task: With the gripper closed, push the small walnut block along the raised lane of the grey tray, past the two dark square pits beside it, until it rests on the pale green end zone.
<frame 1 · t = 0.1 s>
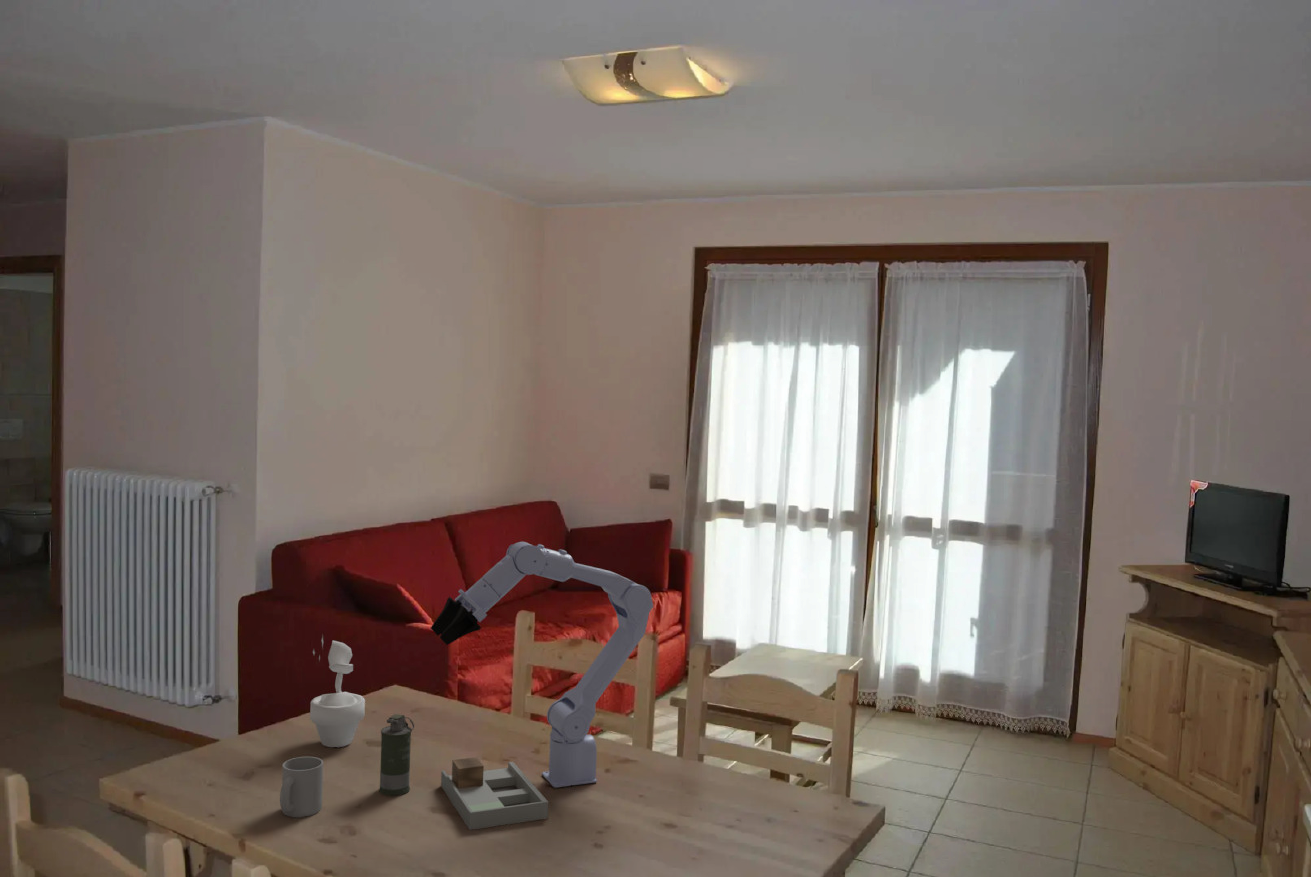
hand: (438, 636, 200), 32 cm above the table, tool tilted 50°, fingers open, 7 cm apart
tray: (492, 801, 200), on the table
potted plant: (336, 745, 228), on the table
block: (467, 782, 204), point 2 cm above the table, touching tray
grenade: (394, 790, 204), on the table
cup: (297, 814, 191), on the table
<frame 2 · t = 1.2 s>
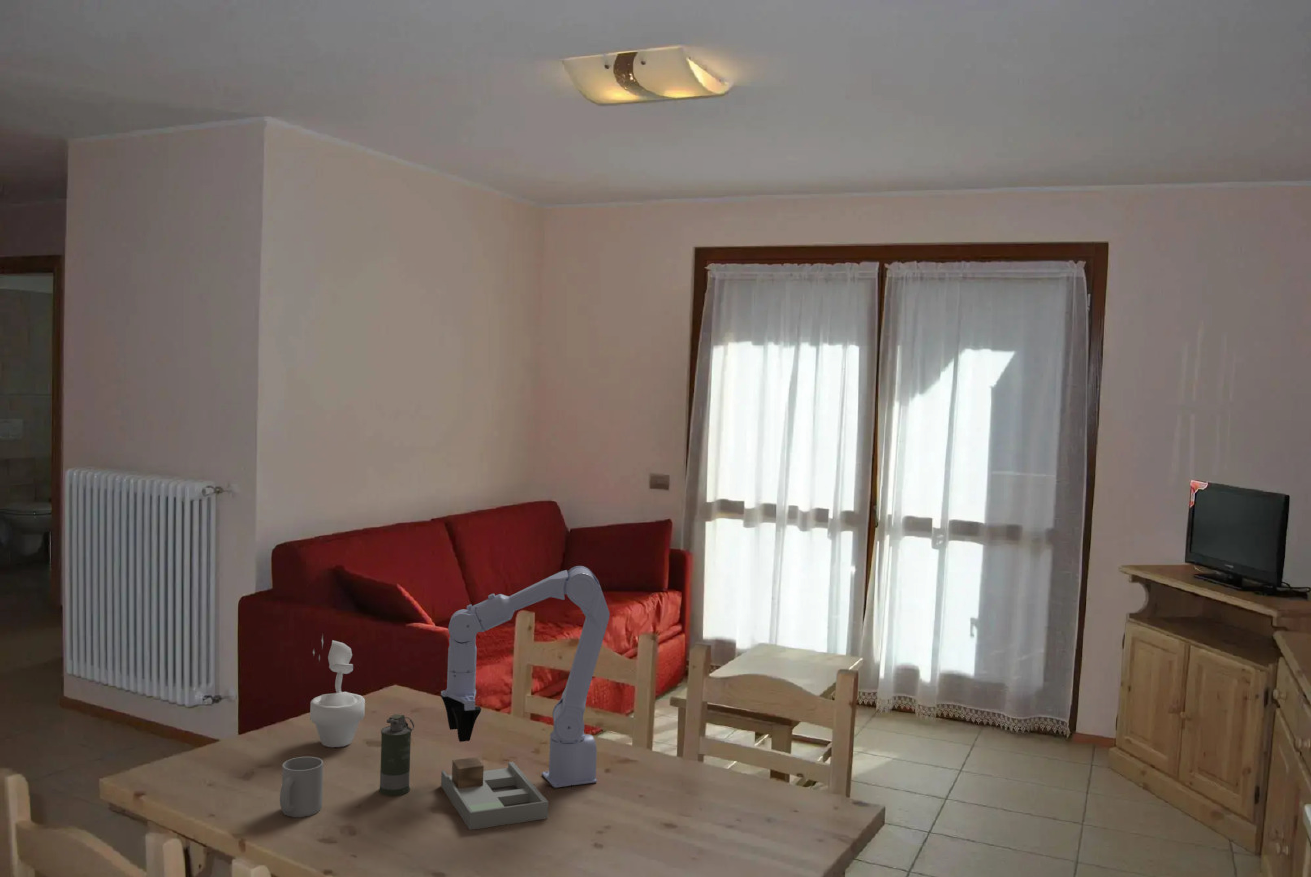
hand: (459, 734, 210), 9 cm above the table, tool pointing down, fingers open, 7 cm apart
nothing on the table moved.
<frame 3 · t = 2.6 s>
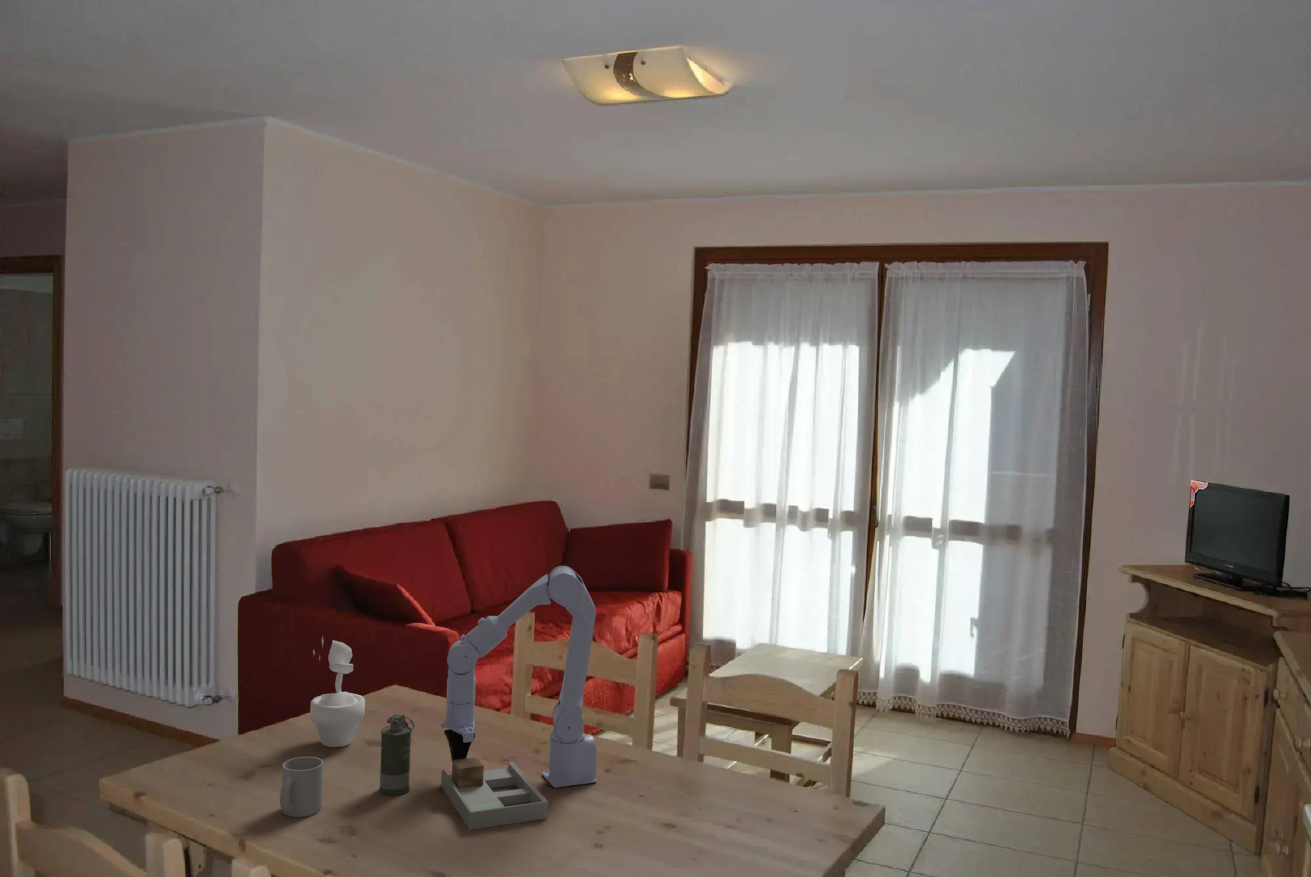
hand: (458, 765, 210), 3 cm above the table, tool pointing down, fingers closed
nothing on the table moved.
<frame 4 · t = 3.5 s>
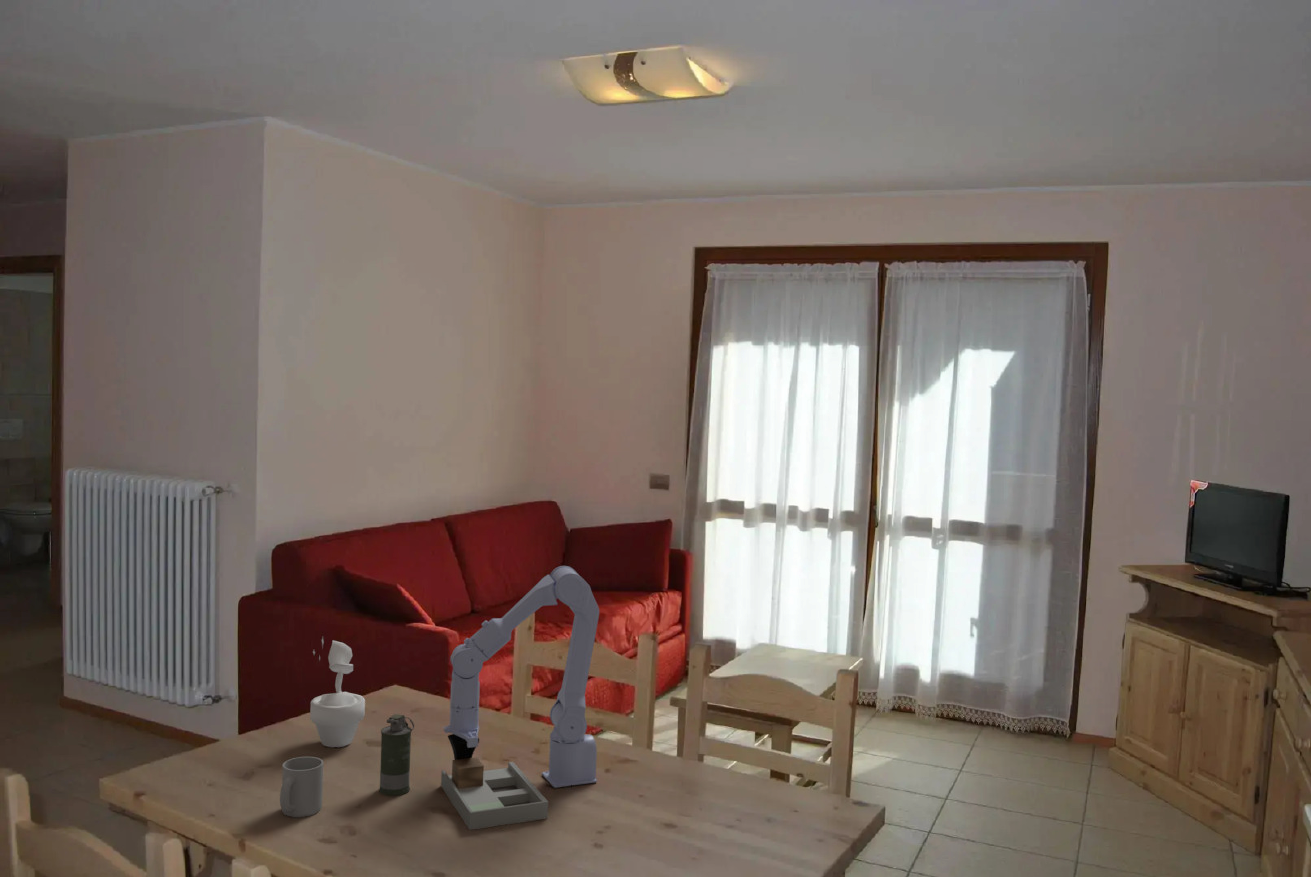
hand: (462, 770, 207), 3 cm above the table, tool pointing down, fingers closed
block: (467, 782, 204), point 2 cm above the table, touching gripper
everything else where it was.
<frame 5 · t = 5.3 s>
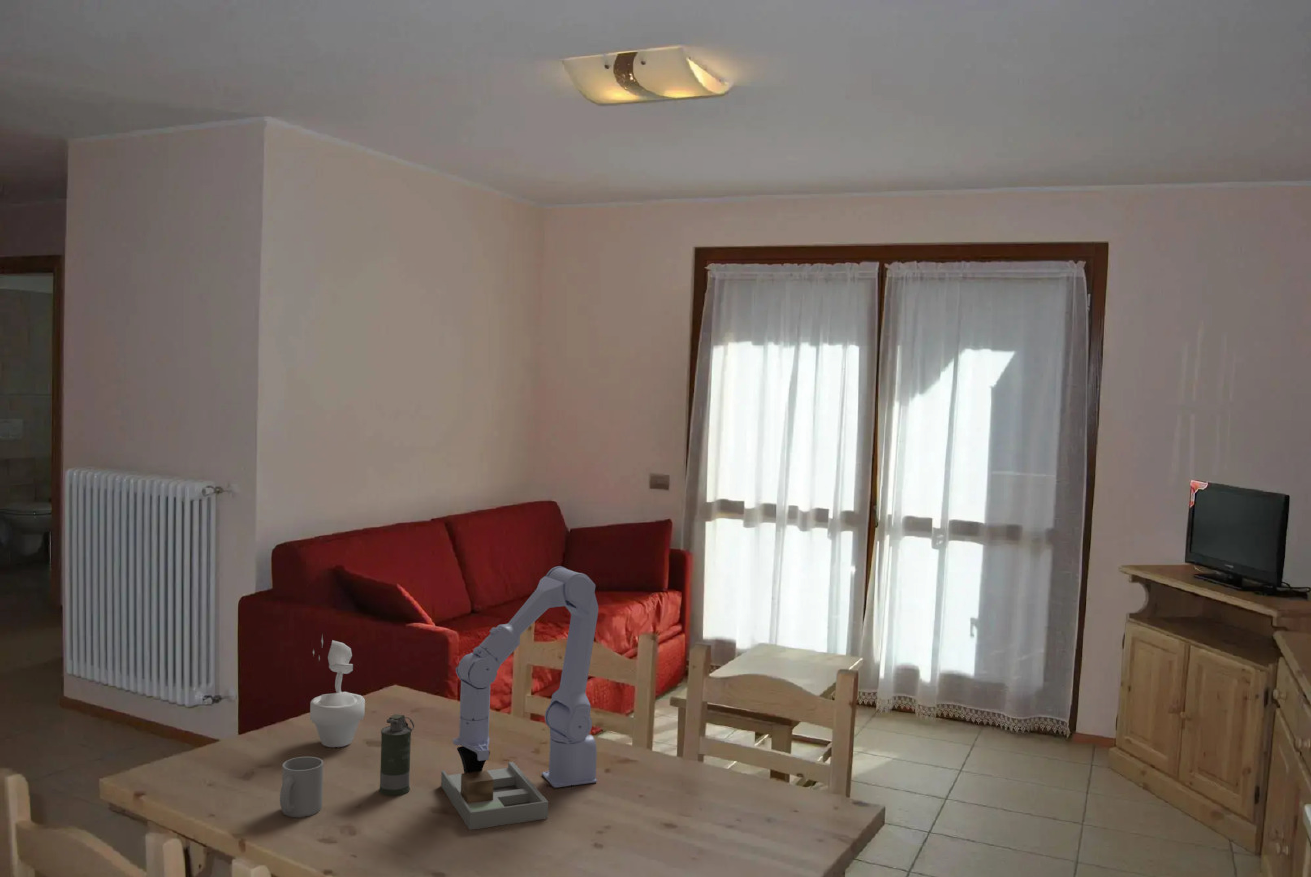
hand: (472, 784, 200), 3 cm above the table, tool pointing down, fingers closed
block: (476, 797, 197), point 2 cm above the table, touching gripper
everything else where it was.
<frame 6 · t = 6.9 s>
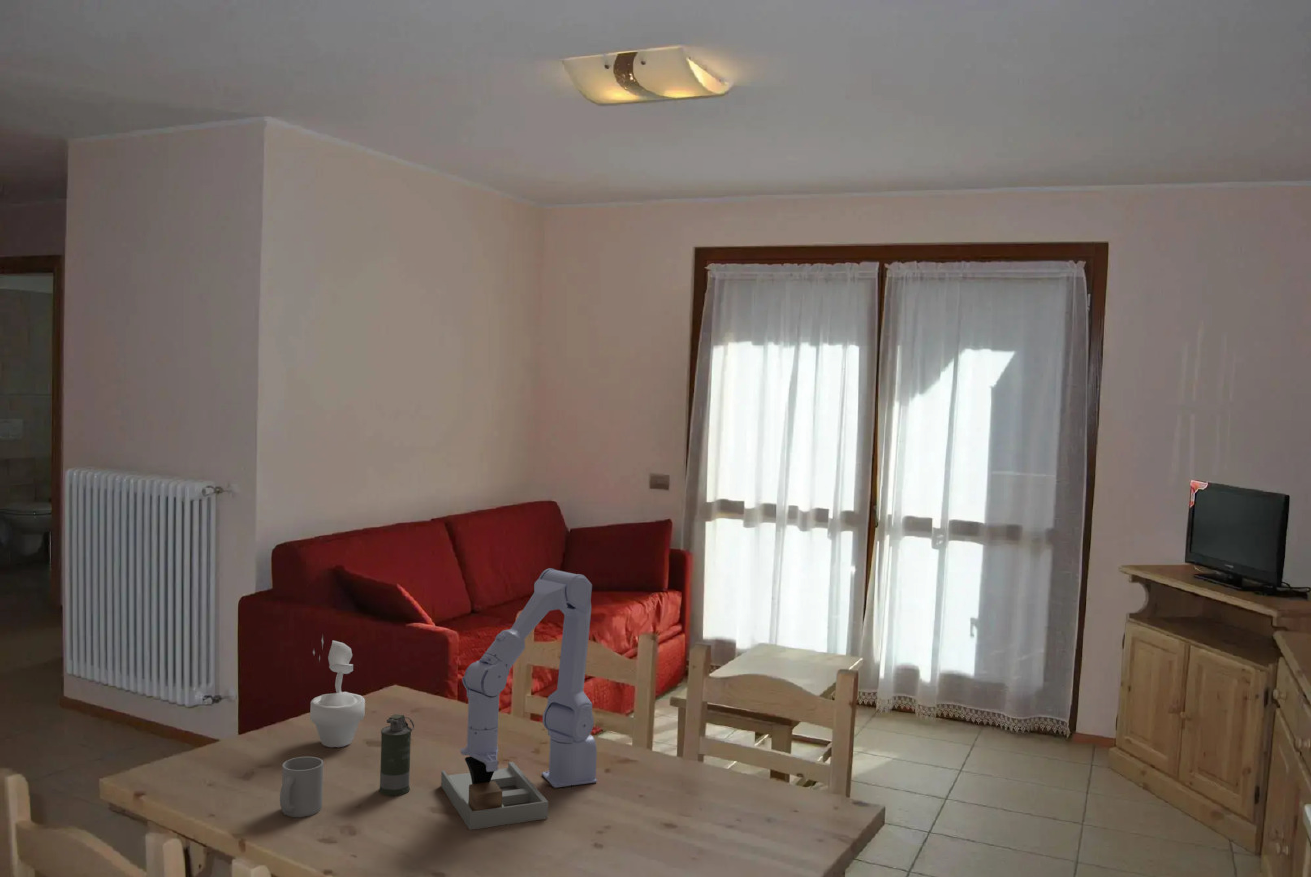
hand: (480, 795, 195), 3 cm above the table, tool pointing down, fingers closed
block: (484, 808, 192), point 2 cm above the table, touching gripper, tray
everything else where it was.
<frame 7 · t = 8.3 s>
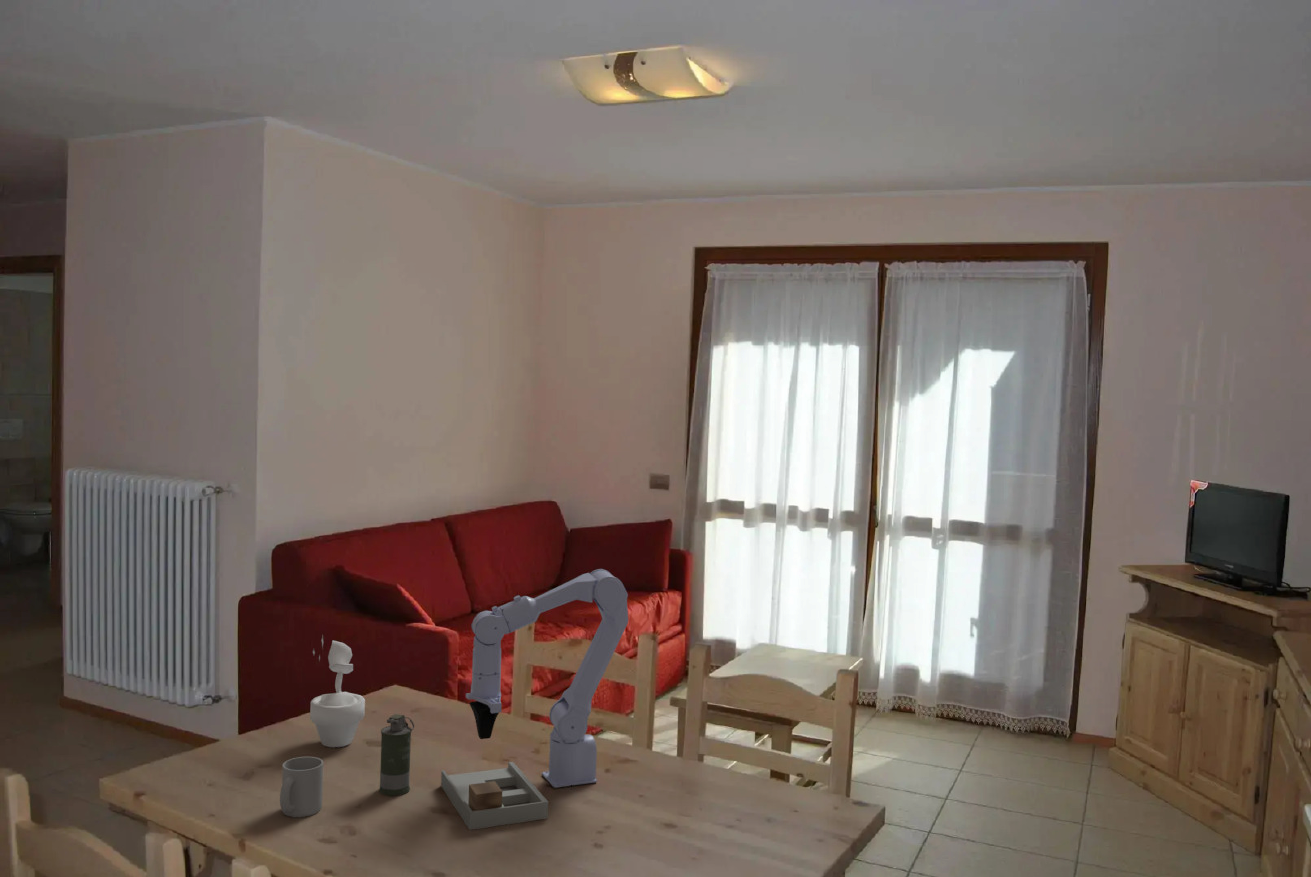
hand: (484, 737, 207), 10 cm above the table, tool pointing down, fingers closed
block: (484, 808, 192), point 2 cm above the table, touching tray
everything else where it was.
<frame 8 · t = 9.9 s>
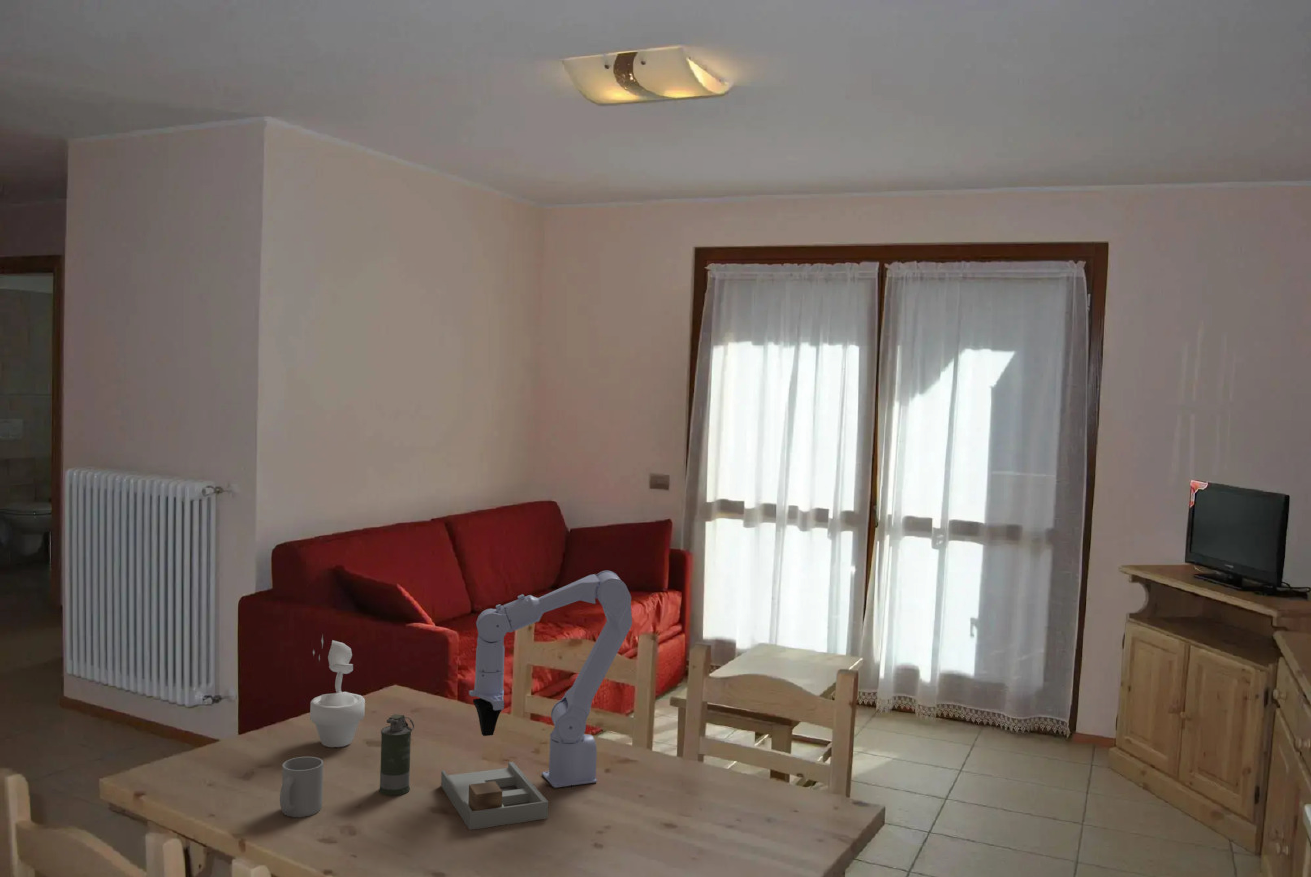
hand: (487, 734, 209), 10 cm above the table, tool pointing down, fingers closed
nothing on the table moved.
at the end: block inside the target area (0.1 cm from its centre), point 2.0 cm above the table; block tilted 0° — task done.
